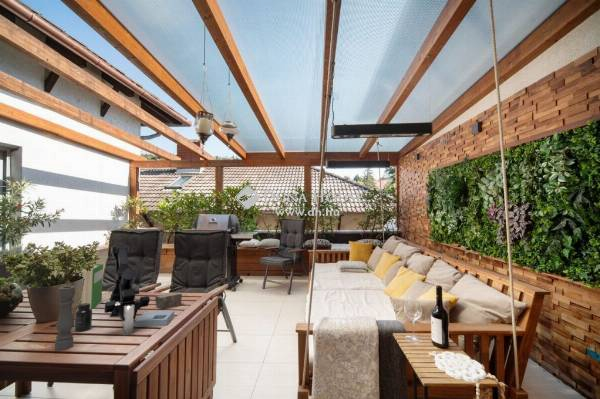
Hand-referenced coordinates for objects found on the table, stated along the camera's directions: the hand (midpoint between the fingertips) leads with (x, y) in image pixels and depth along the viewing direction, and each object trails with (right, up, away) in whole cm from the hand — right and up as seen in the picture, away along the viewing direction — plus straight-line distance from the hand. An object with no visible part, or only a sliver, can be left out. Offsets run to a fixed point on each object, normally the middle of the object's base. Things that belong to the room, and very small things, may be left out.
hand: (129, 320), depth 140 cm
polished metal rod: (-1, -7, +1) cm, 7 cm away
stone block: (0, -9, +42) cm, 43 cm away
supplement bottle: (-26, -7, +6) cm, 27 cm away
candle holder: (-19, -6, -15) cm, 25 cm away
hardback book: (-49, -9, +44) cm, 66 cm away
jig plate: (+4, -8, +18) cm, 20 cm away
